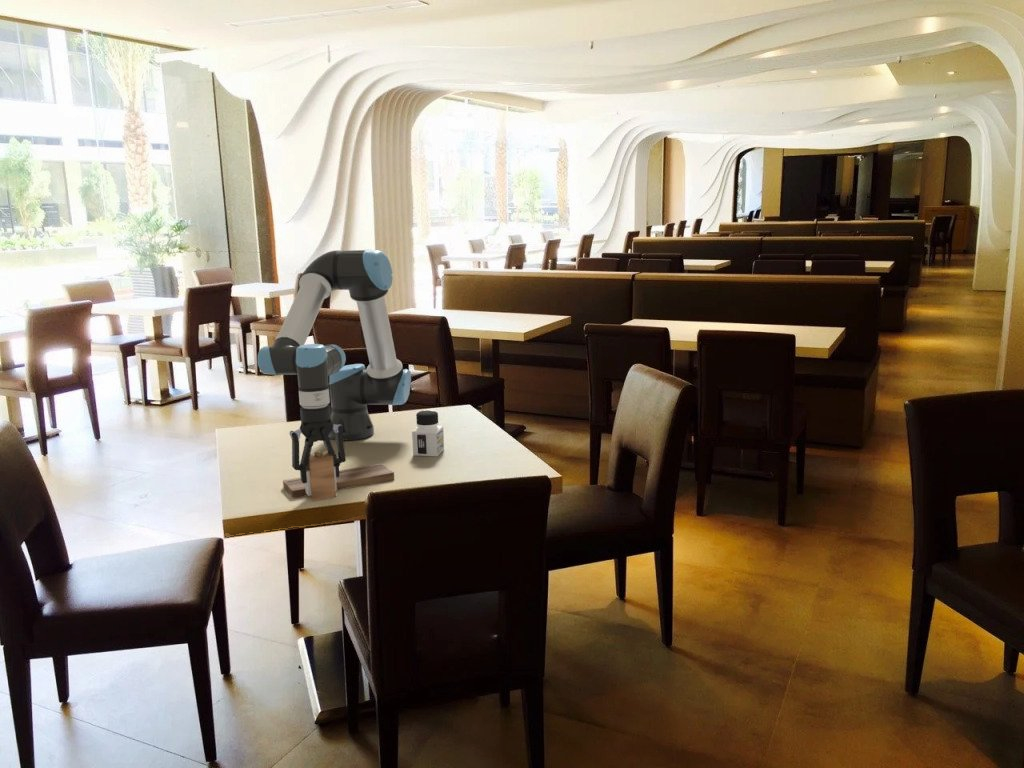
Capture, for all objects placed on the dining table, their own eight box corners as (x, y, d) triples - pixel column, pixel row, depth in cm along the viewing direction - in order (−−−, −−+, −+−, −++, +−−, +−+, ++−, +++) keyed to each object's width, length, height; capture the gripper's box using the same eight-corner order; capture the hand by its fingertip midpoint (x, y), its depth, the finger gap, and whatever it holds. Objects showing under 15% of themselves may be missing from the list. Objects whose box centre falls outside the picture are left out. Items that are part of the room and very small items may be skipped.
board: (283, 487, 221) (282, 480, 221) (381, 469, 235) (381, 462, 234) (293, 498, 213) (292, 490, 212) (394, 479, 226) (393, 472, 226)
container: (437, 456, 246) (435, 414, 244) (412, 455, 248) (410, 414, 245) (444, 449, 254) (442, 408, 251) (420, 448, 255) (418, 408, 253)
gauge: (298, 485, 222) (294, 443, 220) (319, 481, 225) (316, 440, 223) (313, 500, 210) (309, 456, 208) (335, 496, 213) (332, 452, 210)
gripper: (281, 413, 201) (288, 502, 206) (355, 403, 210) (361, 489, 215) (273, 407, 207) (281, 494, 212) (346, 397, 216) (351, 481, 221)
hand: (321, 491), depth 213 cm, fingers closed on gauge, 6 cm apart
